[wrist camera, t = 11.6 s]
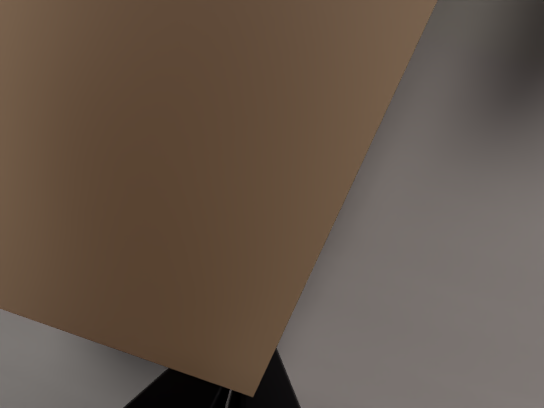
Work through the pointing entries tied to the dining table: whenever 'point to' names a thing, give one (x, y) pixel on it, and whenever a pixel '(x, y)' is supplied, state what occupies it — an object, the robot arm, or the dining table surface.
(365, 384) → the dining table surface
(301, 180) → the block
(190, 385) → the robot arm
